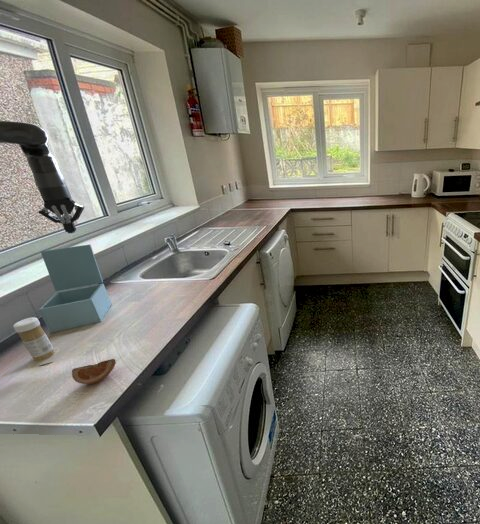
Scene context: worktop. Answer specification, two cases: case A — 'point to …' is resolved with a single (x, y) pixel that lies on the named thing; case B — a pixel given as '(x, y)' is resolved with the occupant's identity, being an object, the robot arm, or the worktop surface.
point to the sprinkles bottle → (34, 339)
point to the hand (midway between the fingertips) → (71, 232)
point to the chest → (75, 307)
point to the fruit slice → (93, 372)
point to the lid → (72, 267)
